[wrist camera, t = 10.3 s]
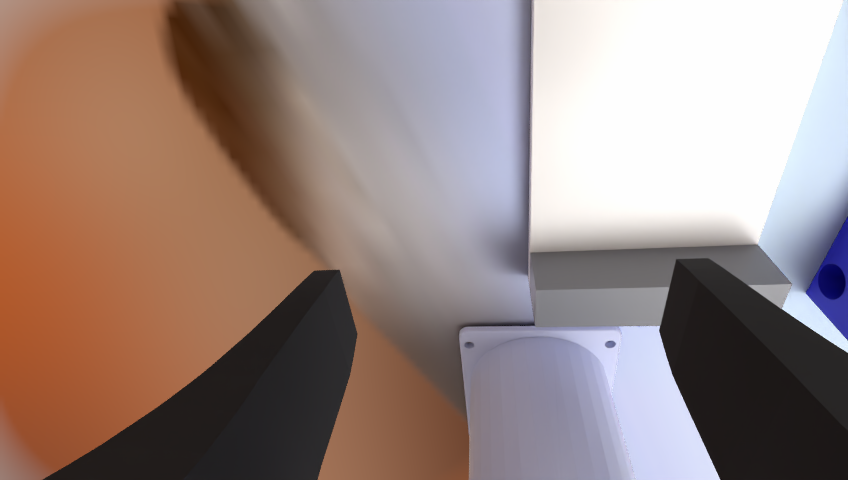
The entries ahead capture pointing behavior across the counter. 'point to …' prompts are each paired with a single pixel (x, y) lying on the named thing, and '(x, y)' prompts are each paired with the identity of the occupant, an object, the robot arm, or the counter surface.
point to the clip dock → (660, 145)
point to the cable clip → (833, 283)
